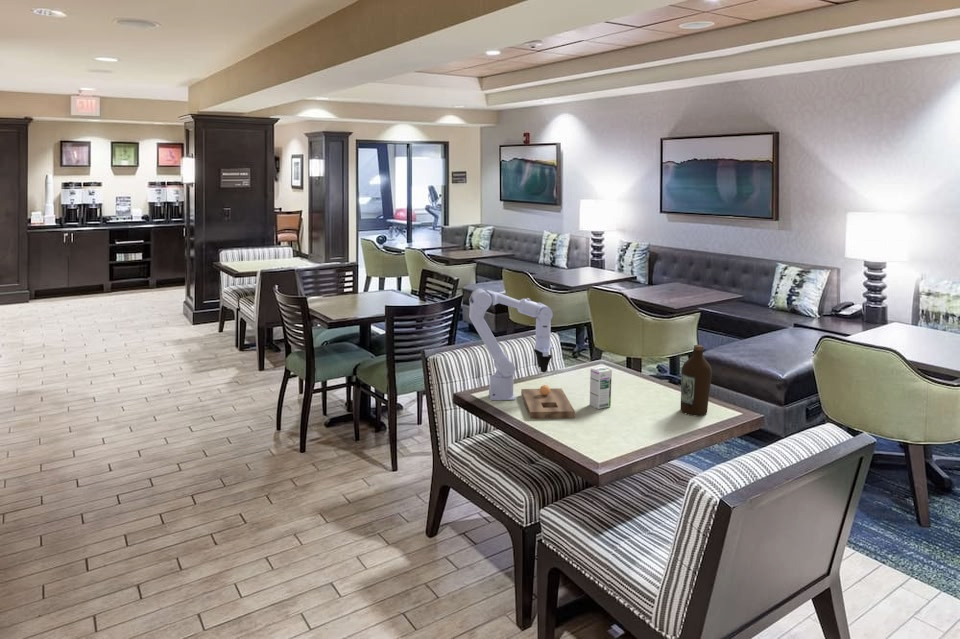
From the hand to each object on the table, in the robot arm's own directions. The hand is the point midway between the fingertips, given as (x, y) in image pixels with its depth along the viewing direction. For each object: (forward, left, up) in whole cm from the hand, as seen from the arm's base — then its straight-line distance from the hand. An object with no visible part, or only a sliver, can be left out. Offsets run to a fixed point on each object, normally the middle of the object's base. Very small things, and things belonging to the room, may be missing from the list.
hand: (542, 369), depth 264 cm
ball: (0, -8, -6) cm, 10 cm away
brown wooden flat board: (0, -13, -10) cm, 17 cm away
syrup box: (+20, -14, -11) cm, 27 cm away
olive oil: (+53, -22, -11) cm, 58 cm away
